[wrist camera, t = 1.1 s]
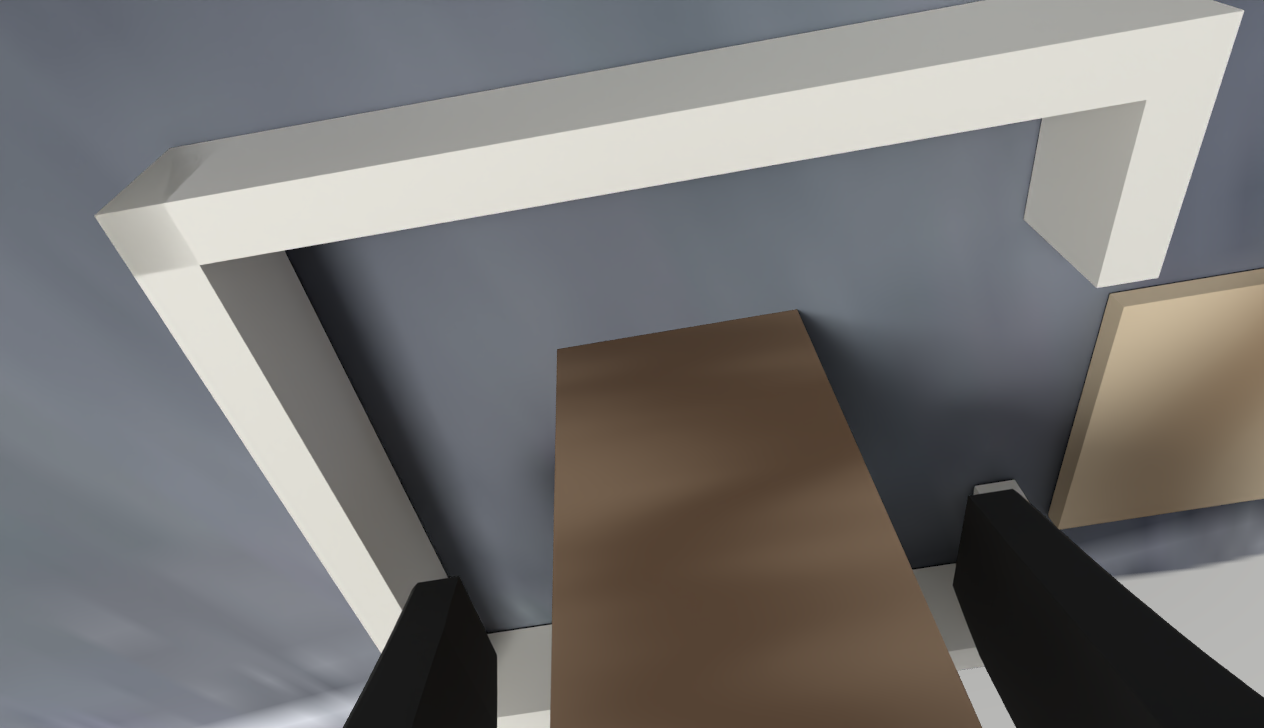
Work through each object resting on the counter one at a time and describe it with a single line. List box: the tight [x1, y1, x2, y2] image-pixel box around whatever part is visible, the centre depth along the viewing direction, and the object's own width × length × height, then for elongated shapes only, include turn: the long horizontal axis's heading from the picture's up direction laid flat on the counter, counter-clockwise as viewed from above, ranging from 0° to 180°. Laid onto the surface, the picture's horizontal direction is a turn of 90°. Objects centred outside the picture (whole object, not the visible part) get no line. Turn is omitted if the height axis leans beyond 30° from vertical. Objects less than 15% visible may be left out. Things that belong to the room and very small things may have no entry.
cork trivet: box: [1048, 269, 1264, 530], centre depth 14 cm, size 6×6×1 cm
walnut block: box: [550, 309, 982, 728], centre depth 11 cm, size 4×4×7 cm
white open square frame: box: [94, 0, 1244, 728], centre depth 13 cm, size 13×13×2 cm
